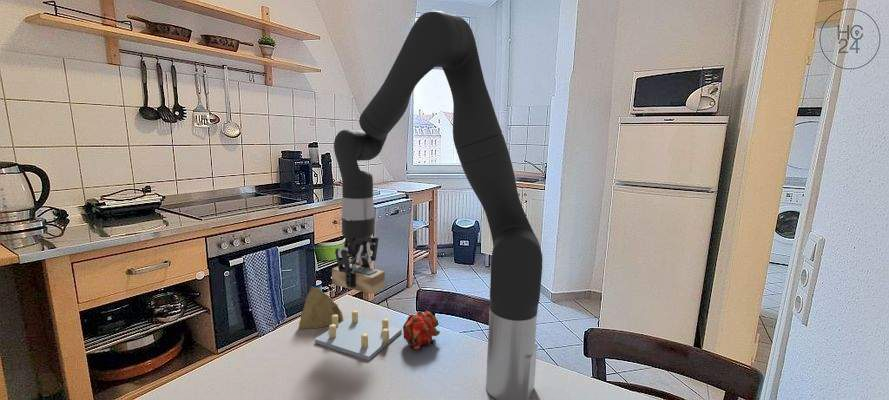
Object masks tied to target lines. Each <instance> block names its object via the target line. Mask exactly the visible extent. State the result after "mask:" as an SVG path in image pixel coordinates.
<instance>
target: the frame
mask: <svg viewBox="0 0 889 400" xmlns="http://www.w3.org/2000/svg"><path fill="white" fill-rule="evenodd" d="M343 267H345V266H344V265H343ZM351 267H352V263H350V268H351ZM355 273H356V286H355V287H354V288H349V287H347V286H346V273H344V272H339V269H338V265H337V266H335V267H332V269H331V280H332V281H331V284H332V285H334V286H338V287H342V288H346V289H349V290H354V291H357V292H362V293H366V294H370V295H373V294H375V293H377V292H378V291H380V290H382V289H384V288H385V285H386V281H385V275H386V272H385V271H384V270H380V269H377V268H372V267H370V268H366V267H362V266H361V265H358V264H357V265H356V270H355Z"/></svg>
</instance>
